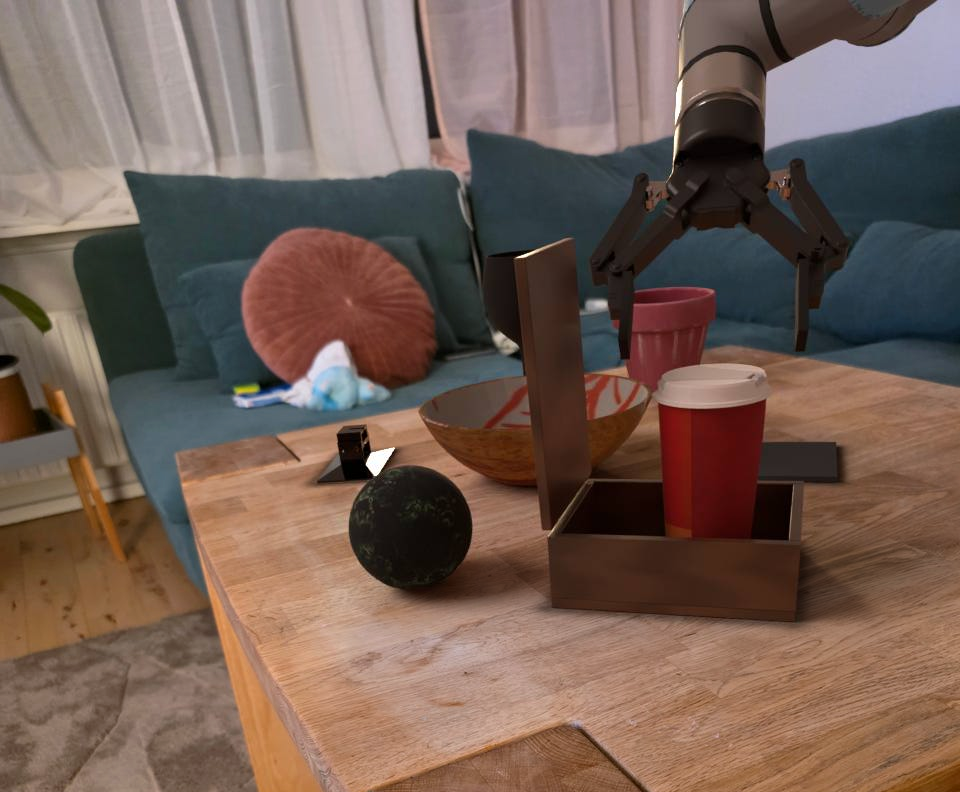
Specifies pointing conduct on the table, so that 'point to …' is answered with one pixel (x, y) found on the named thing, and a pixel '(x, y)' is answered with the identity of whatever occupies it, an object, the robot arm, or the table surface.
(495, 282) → the wine glass
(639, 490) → the storage box
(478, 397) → the bowl
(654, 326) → the flower pot
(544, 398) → the lid
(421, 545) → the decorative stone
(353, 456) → the black block with wedges
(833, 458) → the mat
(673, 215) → the robot arm
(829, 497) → the table surface
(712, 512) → the coffee cup
